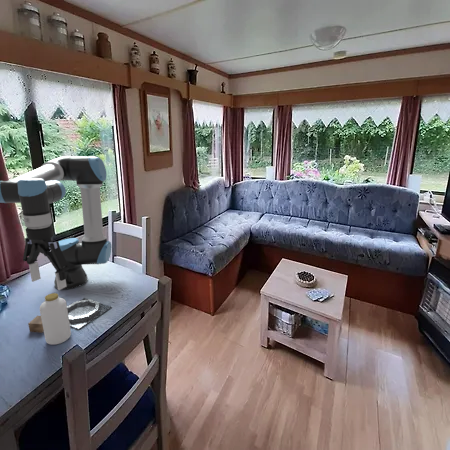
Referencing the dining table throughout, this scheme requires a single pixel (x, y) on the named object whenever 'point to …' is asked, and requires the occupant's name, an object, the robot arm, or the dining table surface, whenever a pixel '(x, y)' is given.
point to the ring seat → (85, 312)
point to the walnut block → (36, 325)
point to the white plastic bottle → (55, 319)
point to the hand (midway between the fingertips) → (49, 284)
